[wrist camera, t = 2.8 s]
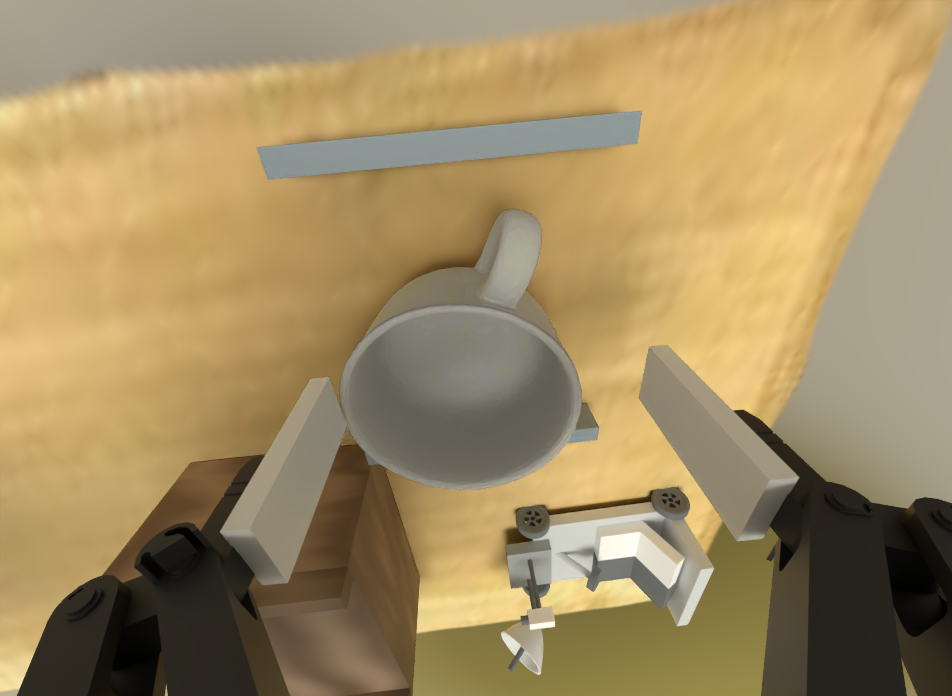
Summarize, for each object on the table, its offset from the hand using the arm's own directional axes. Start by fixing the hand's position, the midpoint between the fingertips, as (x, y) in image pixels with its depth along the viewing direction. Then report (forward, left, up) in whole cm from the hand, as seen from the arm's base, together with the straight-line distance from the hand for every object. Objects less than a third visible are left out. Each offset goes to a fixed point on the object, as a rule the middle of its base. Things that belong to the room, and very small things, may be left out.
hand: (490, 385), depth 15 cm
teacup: (0, 0, -8) cm, 8 cm away
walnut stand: (-16, -20, -8) cm, 26 cm away
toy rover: (+8, -26, -8) cm, 28 cm away
